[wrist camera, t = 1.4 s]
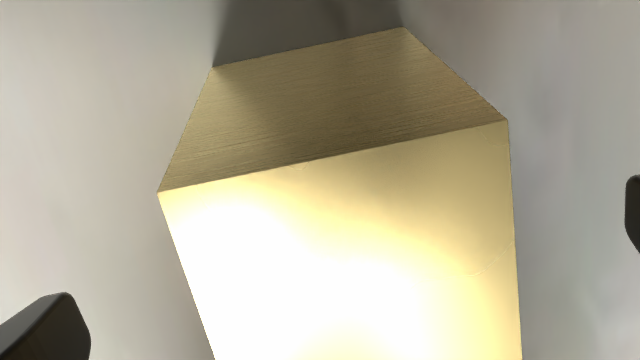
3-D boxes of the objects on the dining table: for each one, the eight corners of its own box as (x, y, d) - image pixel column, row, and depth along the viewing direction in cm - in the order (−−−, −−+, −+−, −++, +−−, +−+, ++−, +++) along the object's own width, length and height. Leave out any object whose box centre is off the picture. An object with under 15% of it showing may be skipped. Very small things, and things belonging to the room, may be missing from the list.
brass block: (426, 197, 15) (523, 385, 9) (258, 232, 15) (244, 440, 9) (403, 26, 13) (507, 120, 7) (211, 66, 13) (156, 192, 7)
